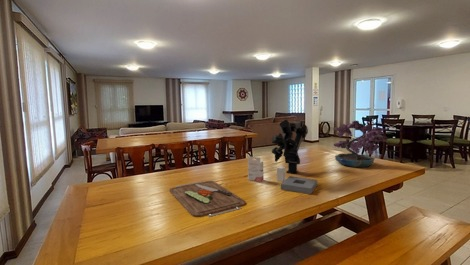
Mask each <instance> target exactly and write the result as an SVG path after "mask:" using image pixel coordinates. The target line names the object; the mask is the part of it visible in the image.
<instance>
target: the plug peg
mask: <svg viewBox="0 0 470 265" xmlns="http://www.w3.org/2000/svg"><path fill="white" fill-rule="evenodd" d="M286 168H287V167H286V166H281V165H279V166H277V167H276V182H281V183H283V182H284V181H285V180H286Z"/></svg>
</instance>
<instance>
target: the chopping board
mask: <svg viewBox="0 0 470 265" xmlns="http://www.w3.org/2000/svg"><path fill="white" fill-rule="evenodd" d="M168 191H169V193H170V194H171V195H172V196H173V197H174V199H176V200H177V201H178V203H180V205H182V207H183V208H184V209H185V210H186V211H187V212H188V213H189V214H190V216H192V217H195V218H199V217H205V216H207V217H208V218H211V217H214V216H218V215H219V216H220V215H221V214H225V213H230V212H232V211H233V212H234V211H237V210H241V209H242V207H243V206H245V205H246V203H247V202H246V200H245V199H243V197H240V196H238V195H237V194H235V193H233V192H232V191H231V190H229V189H227V188H225V187H223V186H222V185H221V184H219V183H217V182H215V181H214V180H206V181H203V180H201V181H196V182H190V183H185V184H179V185H176V186H173V187H170V188H169V190H168Z"/></svg>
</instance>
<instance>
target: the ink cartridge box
mask: <svg viewBox="0 0 470 265" xmlns="http://www.w3.org/2000/svg"><path fill="white" fill-rule="evenodd" d="M264 178H265V177H264V160H261V157H259V156H247V180H248V181H250V182H251V181H253V182H259V183H260V182H262V181H264Z"/></svg>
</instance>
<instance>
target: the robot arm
mask: <svg viewBox="0 0 470 265" xmlns="http://www.w3.org/2000/svg"><path fill="white" fill-rule="evenodd" d="M279 128H280V131H281V133H280V132H279V133H278V134H276V135H274V136H272V138H271V144H275V145H277V146H278V147H277V146H276V147H274V148H272V150H271V153H272V154H274V162H275V163H276V162H278V161H279V160H280V158H282V157H284V161H285V162H284V163H285V164H287V170H286V173H288V174H295V175H296V174H297V173H299V170H298V165H300V164H301V159H300V156H299V153H298V152H299V150H300V146H301V143H302V142H303V139H304V138H306V137H307V135H308V133H309V130H308V126H307V125H306V124H305V123H304V121H302V120H296V121H294V122H289V120H288V119H284V120H283V121H281V122H280V123H279ZM282 133H283V134H282ZM294 133H295V137H294ZM293 138H294V139H293Z"/></svg>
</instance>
